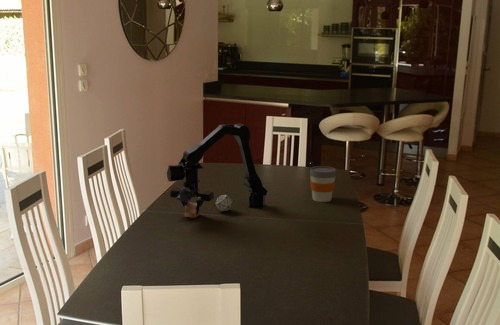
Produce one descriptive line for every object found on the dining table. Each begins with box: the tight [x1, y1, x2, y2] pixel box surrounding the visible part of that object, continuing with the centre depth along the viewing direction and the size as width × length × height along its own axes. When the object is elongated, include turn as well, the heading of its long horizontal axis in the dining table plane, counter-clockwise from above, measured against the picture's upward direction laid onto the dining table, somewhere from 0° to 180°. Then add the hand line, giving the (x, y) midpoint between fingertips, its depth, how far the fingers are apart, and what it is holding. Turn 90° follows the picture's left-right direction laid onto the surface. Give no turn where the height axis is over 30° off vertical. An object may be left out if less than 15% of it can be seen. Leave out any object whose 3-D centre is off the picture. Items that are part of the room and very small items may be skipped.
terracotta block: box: [183, 201, 201, 219], centre depth 242 cm, size 5×5×5 cm
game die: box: [212, 192, 235, 214], centre depth 247 cm, size 9×8×10 cm
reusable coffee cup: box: [309, 165, 337, 203], centre depth 265 cm, size 13×13×15 cm
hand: (192, 213), depth 242 cm, fingers closed on terracotta block, 5 cm apart
